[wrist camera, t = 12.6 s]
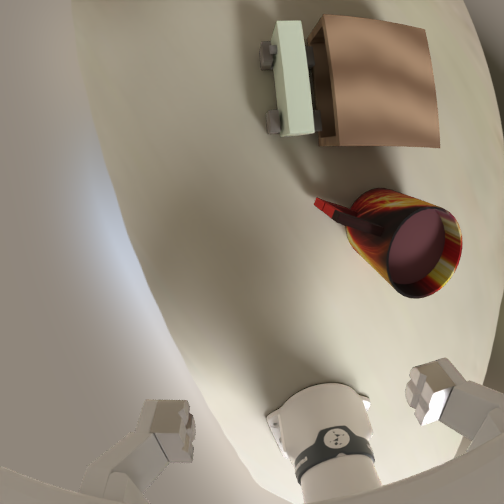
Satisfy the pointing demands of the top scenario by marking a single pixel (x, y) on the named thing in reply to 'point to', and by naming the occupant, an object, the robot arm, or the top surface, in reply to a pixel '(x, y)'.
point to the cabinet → (368, 84)
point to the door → (291, 79)
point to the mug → (401, 239)
